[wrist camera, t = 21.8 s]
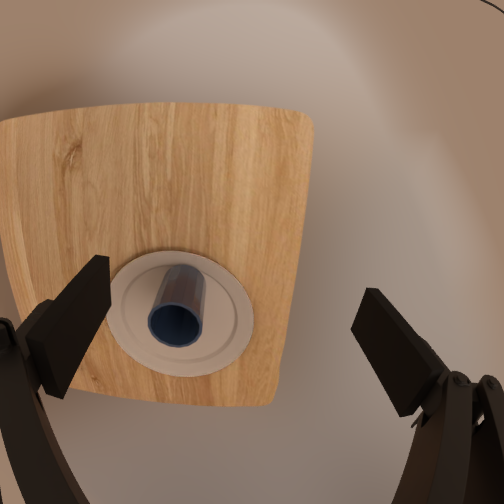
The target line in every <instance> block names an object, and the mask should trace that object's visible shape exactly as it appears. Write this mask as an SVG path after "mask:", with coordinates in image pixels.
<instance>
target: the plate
mask: <svg viewBox="0 0 504 504" xmlns="http://www.w3.org/2000/svg"><path fill="white" fill-rule="evenodd" d="M183 264H184V265H190V266H192V267H195V268H196V269H198V270H199V271H200V272H201V273H202V274H203V276H204V278H205V281H206V295H205V305H204V316H203V327H202V334H201V336H200V337H199V339H198V340H197V341H196V342H195V343H193V344H192V345H190V346H187V347H181V348H176V347H169V346H166V345H164V344H162V343H160V342H158V341H157V340H156V339H155V338H154V337H153V336H152V335H151V333H150V330H149V328H148V320H147V318H148V315H149V312H150V309H151V307H152V304H153V302H154V299H155V296H156V294H157V291H158V289H159V286H160V284H161V281H162V279H163V277H164V275H165V273H166V272H167V271H168V270H169V269H170V268H172V267H173V266H176V265H183ZM110 287H111V302H112V306H111V307H110V309H109V311H108V313H107V314H106V318H107V322H108V325H109V328H110V330H111V332H112V335H113V336H114V338H115V340H116V341H117V343H118V344H119V345H120V346H121V348H122V349H123V350H124V351H125V352H126V353H127V354H128V355H129V356H131V357H132V358H133V359H134V360H136V361H137V362H139V363H140V364H142V365H144V366H145V367H147V368H149V369H152V370H154V371H157V372H160V373H163V374H167V375H171V376H179V377H195V376H202V375H207V374H210V373H213V372H216V371H219V370H221V369H223V368H225V367H226V366H228V365H229V364H231V363H232V362H234V361H235V360H236V359H237V358H238V357H239V356H240V355H241V354H242V353H243V351H244V350H245V348H246V347H247V345H248V343H249V341H250V339H251V336H252V333H253V327H254V313H253V307H252V304H251V301H250V299H249V297H248V295H247V293H246V291H245V289H244V288H243V286H242V285H241V283H240V282H239V281H238V280H237V279H236V278H235V277H234V276H233V275H232V274H231V273H230V272H229V271H228V270H226V269H225V268H223V267H222V266H220V265H219V264H218V263H216V262H214V261H212V260H210V259H208V258H205V257H202V256H200V255H197V254H193V253H189V252H182V251H159V252H153V253H149V254H146V255H143V256H141V257H138V258H136V259H134V260H133V261H131V262H129V263H128V264H127V265H125V266H124V267H123V268H122V269H121V270H120V271H119V272H118V273H117V274H116V276H115V277H114V279H113V280H112V282H111V284H110Z"/></svg>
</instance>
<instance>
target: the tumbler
mask: <svg viewBox="0 0 504 504" xmlns="http://www.w3.org/2000/svg"><path fill="white" fill-rule="evenodd" d="M205 295H206V281H205V278H204V276H203V274H202V273H201V272H200V271H199V270H198V269H196V268H195V267H192V266H190V265H184V264H183V265H176V266H173V267H172V268H170V269H169V270H168V271H167V272H166V273H165V275H164V277H163V279H162V281H161V284H160V286H159V289H158V291H157V294H156V296H155V299H154V302H153V304H152V307H151V309H150V312H149V315H148V318H147V320H148V328H149V330H150V333H151V335H152V336H153V337H154V338H155V339H156V340H157V341H158V342H160V343H162V344H164V345H166V346H169V347H176V348H181V347H187V346H190V345H192V344H193V343H195V342H196V341H197V340H198V339H199V337H200V336H201V334H202V327H203V316H204V305H205Z"/></svg>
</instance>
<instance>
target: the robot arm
mask: <svg viewBox="0 0 504 504" xmlns="http://www.w3.org/2000/svg"><path fill="white" fill-rule="evenodd" d="M481 1H483V2H485V3H487V4H489V5H491V6H493V7H495V8H497V9H498V10H500V11H501V12H502V13H504V11H503V10H501V9H500V8H498V7H497V6H495V5H494V4H492V3H490V2H488V1H485V0H481ZM111 306H112V302H111V287H110V265H109V257H108V256H101V255H95V256H94V257H93V258H92V259H91V260H90V261H89V262H88V263H87V264H86V265H85V266H84V267H83V268H82V269H81V270H80V272H79V273H78V274H77V275H76V276H75V277H74V278H73V279H72V280H71V281H70V283H69V284H68V285H67V286H66V287H65V288H64V289H63V291H62V292H61V293H60V294H59V295H58V296H57V297H56V299H55V300H49V299H47V300H45V301H43V302H42V303H40V304H38V305H37V306H36V308H35V309H34V310H33V311H32V313H30V315H29V316H28V317H27V319H25V320H24V322H23V323H22V324H21V325H20V327H19V328H18V329H17V330H16V331H15V330H14V327H13V324H12V322H11V321H10V320H9V319H7V318H0V429H1V433H2V437H3V441H4V445H5V448H6V451H7V455H8V458H9V461H10V464H11V467H12V470H13V473H14V476H15V478H16V481H17V484H18V486H19V489H20V491H21V494H22V496H23V498H24V501H25V503H26V504H90V503H89V502H88V500H87V498H86V497H85V495H84V493H83V491H82V490H81V488H80V486H79V484H78V482H77V481H76V479H75V477H74V475H73V473H72V471H71V469H70V468H69V465H68V463H67V461H66V459H65V457H64V455H63V454H62V451H61V449H60V447H59V445H58V442H57V440H56V437H55V435H54V433H53V430H52V428H51V426H50V423H49V420H48V417H47V415H46V412H45V410H44V407H43V404H42V401H41V398H40V396H39V393H38V389H39V387H40V385H41V384H42V386H43V388H44V390H45V393H46V394H48V395H51V396H54V397H57V398H60V399H63V398H64V396H65V394H66V392H67V389H68V387H69V385H70V383H71V381H72V379H73V377H74V375H75V373H76V371H77V369H78V367H79V365H80V363H81V361H82V359H83V357H84V355H85V353H86V351H87V349H88V347H89V345H90V343H91V342H92V340H93V338H94V336H95V334H96V332H97V330H98V329H99V327H100V325H101V323H102V321H103V320H104V318H105V316H106V314H107V313H108V311H109V309H110V307H111ZM351 331H352V333H353V335H354V336H355V338H356V340H357V342H358V343H359V345H360V347H361V348H362V350H363V352H364V354H365V355H366V357H367V359H368V361H369V362H370V364H371V366H372V368H373V369H374V371H375V373H376V374H377V376H378V378H379V380H380V382H381V384H382V385H383V387H384V389H385V391H386V393H387V394H388V396H389V398H390V400H391V402H392V404H393V405H394V407H395V409H396V411H397V413H398V415H399V417H405V416H409V415H413V414H414V413H415V411H416V410H417V408H418V407H419V406H421V407H422V409H423V411H422V413H421V414H420V415H419V416H418V418H417V419H416V420H415V421H414V423H413V424H412V425H411V428H413V427H414V426H415V425H416V424H417V427H416V431H415V435H414V439H413V442H412V446H411V449H410V453H409V456H408V459H407V463H406V465H405V469H404V471H403V475H402V477H401V480H400V483H399V486H398V488H397V491H396V493H395V496H394V499H393V501H392V503H391V504H504V391H503V389H502V386H501V384H500V383H499V381H498V380H497V379H496V378H494V377H493V376H490V375H484V376H483V377H482V378H481V380H480V381H479V383H471V381H470V380H469V378H468V377H467V376H466V375H465V374H463V373H461V372H458V371H452V372H451V371H450V370H449V369H448V368H447V366H446V365H445V364H444V363H443V361H442V360H441V359H440V358H439V356H438V355H436V353H435V351H434V350H433V349H431V346H430V345H429V344H428V343H427V342H426V341H425V340H424V339H423V338H421V337H420V336H419V335H418V334H417V333H416V332H415V331H414V330H413V328H412V327H411V326H410V325H409V324H408V322H407V321H406V320H405V319H404V318H403V317H402V315H401V314H400V313H399V312H398V311H397V310H396V308H395V307H394V306H393V305H392V304H391V303H390V302H389V301H388V299H387V298H386V297H385V296H384V295H383V294H382V293H381V292H380V290H379V289H376V288H366V290H365V293H364V296H363V299H362V301H361V304H360V307H359V309H358V312H357V315H356V317H355V320H354V322H353V325H352V327H351ZM483 414H484V420H483V421H482V423H481V424H480V425H478V420H479V419H480V417H481V416H482V415H483ZM0 504H3V502H2V496H1V489H0Z"/></svg>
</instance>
